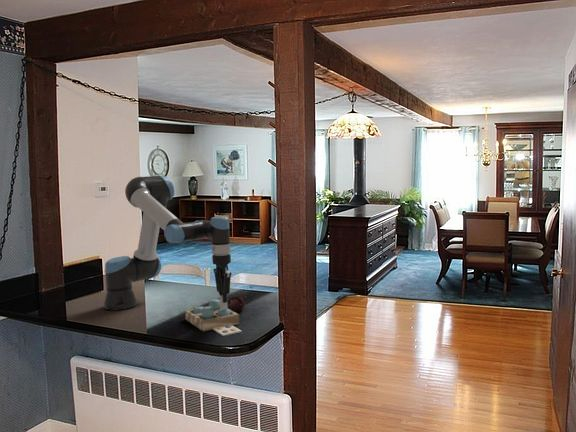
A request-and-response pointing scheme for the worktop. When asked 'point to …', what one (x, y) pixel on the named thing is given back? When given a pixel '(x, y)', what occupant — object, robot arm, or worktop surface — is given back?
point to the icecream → (236, 303)
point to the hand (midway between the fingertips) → (223, 309)
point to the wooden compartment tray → (211, 320)
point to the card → (226, 330)
